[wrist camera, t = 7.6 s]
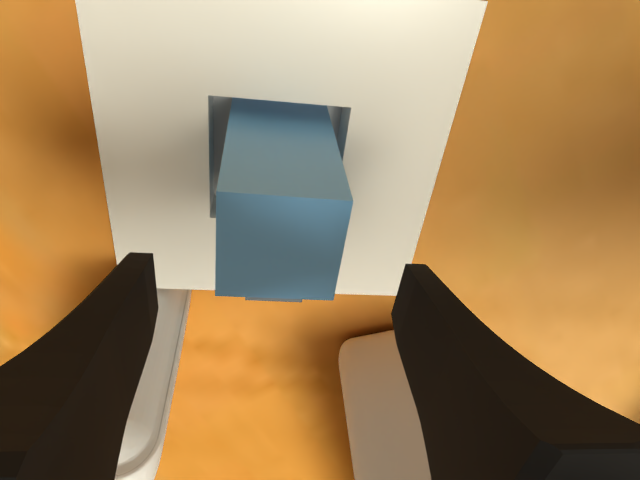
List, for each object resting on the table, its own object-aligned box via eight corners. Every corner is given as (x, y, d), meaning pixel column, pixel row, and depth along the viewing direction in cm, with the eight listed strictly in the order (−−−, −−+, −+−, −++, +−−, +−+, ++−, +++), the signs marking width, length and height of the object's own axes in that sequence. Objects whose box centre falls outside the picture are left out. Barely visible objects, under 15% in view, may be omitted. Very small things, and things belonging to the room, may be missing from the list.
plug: (326, 105, 21) (353, 200, 14) (313, 197, 23) (330, 312, 17) (232, 95, 20) (216, 191, 14) (229, 191, 23) (214, 308, 16)
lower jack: (464, -11, 19) (487, 1, 17) (391, 265, 27) (402, 295, 25) (91, -57, 17) (66, -51, 15) (132, 255, 25) (120, 287, 23)
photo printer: (157, 384, 31) (105, 615, 21) (87, 370, 30) (-3, 610, 20) (204, 269, 26) (164, 504, 16) (122, 247, 25) (24, 486, 15)
